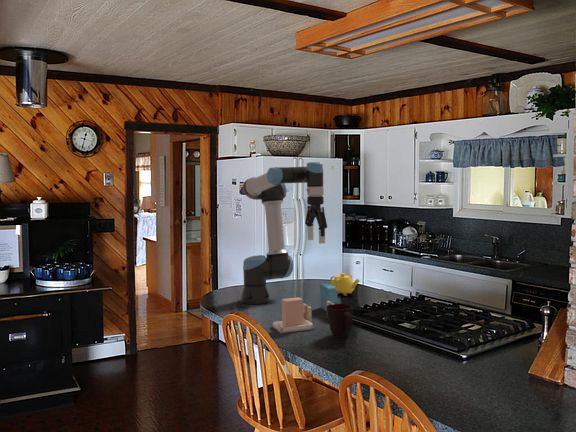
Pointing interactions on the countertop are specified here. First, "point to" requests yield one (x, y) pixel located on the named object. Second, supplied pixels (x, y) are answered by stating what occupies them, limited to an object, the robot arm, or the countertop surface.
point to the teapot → (344, 283)
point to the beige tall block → (292, 312)
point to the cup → (340, 319)
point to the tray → (282, 329)
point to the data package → (327, 295)
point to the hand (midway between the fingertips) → (316, 241)
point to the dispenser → (310, 311)
